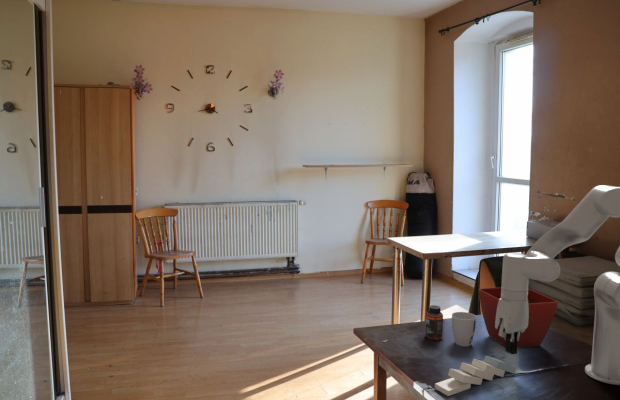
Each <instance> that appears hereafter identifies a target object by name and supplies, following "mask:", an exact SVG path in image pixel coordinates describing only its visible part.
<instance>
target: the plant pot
mask: <svg viewBox="0 0 620 400" xmlns="http://www.w3.org/2000/svg"><path fill="white" fill-rule="evenodd" d="M478 294H479V304H480V308H481V313H482V317H483V320H484V324H485V328H486V331H487V334H488V337H490V338H492V339H493V340H495V341H497V342H498V343H499V344H501V345H503V346H504V347H505V341H506V340H505V339H504V337H501V336H499V330H497V329H496V328H495V320H496V312H497V306H498V302H499V299H500V298H501V287H499V286H498V287H486V288H485V287H484V288H479V289H478ZM558 303H559V302H558V300H555V299H554V298H551V297H549V296H546V295H544V294H542V293H540V292H537V291H535V290H533V289H531V288H528V307H529V320H528V327H527V328H526V329H525V331H524V332H523V333H521V335H520V338H519V341H518V347H517V349H520V348H521V349H523V348H532V347H540V346H541V345H542V343H543V341H544V339H545V338H546V336H547V334H548V331H549V330H550V327H551V325H552V322H553V320H554V317H555V314H556V311H557V308H558Z"/></svg>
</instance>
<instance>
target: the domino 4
mask: <svg viewBox="0 0 620 400" xmlns="http://www.w3.org/2000/svg"><path fill="white" fill-rule="evenodd" d="M483 361H484V360H483ZM483 361H482V360H479V359H476V358H472V362H471V363H470V365H473V366H475V367H477V368H479V369H481V370H483V371H485V372H488V373H492V374H494V375H496V376H498V377H502V378H504V376H505V372H506V371H504V370H501V369H498V368H496V367H494V366H491V365H489V364H487V363H485V362H483Z"/></svg>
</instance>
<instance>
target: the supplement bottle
mask: <svg viewBox="0 0 620 400" xmlns="http://www.w3.org/2000/svg"><path fill="white" fill-rule="evenodd" d="M425 314H426V315H425V337H426V338H427V339H429V340H432V341H439V340H441V339H443V332H444V331H443V330H444V328H443V327H444V325H443V324H444V314H443V313H442V312H441V306H440V305H433V304H432V305H429V307H428V311H427V312H426V313H425Z"/></svg>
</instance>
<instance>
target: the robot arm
mask: <svg viewBox="0 0 620 400" xmlns="http://www.w3.org/2000/svg"><path fill="white" fill-rule="evenodd" d="M609 218H614V219H615V218H617V219H619V218H620V186H614V185H608V184H607V185H605V184H599V185H596V186H594V187H593V188H592V189H591V190H590V191H589V192H588V193H586V195H585V196H584V197H583V198H582V199H581V200H580V201H579V203H577V205H576V206H575V207H574V208H573V209H572V211H571V212H569V214H568V215H567V216H566V217H565V218H564V219H563V220H562V221H561V222H559V223H558V224H556V225H555V226H553V227H551V229H549V230H547V232H545V233H543V234H542V235H541V237H539V238H538V239H537V240H536V241H535V242H534V243H533V245H532V246H531V247H530V248H529V249H528V250H527V252H526V253H525V254H524V253H520V252H508V253H505V254H504V256H503V258H502V273H501V298H500V299H499V302H498V306H497V312H496V320H495V328H496V329H497V330H499V336H501V337H504V339H505V340H506V341H505V346H504V352H505V353H508V354H510V355H517V354H518V348H517V347H518V341H519V338H520V335H521V333H523V332H524V331H525V329H526V328H527V327H528V320H529V307H528V289H529V281H530V280H533V281H537V282H544V283H548V282H553V281H555V280H556V279H558V278H559V276H560V274H561V266H560V264H559V262H558V261H557V260H556V259H555V258H556V256H557V255H558V254H560V253H561V252H562V251H563V250H564V249H565V250H566V248H568V247H571V246H573V245H578V244H581V243H584V242H586V241H588V240H590V239H591V237H592V236H593V235H594V234H595V233H596V232H597V230H599V228H601V226H602V225H603V224H604V223H605V222H606V221H607V220H608V219H609ZM614 259H615V260H614V261H615V263H616V264H617V265H618V266H619V267H620V245H619V247H618V248H617V250H616V252H615V255H614ZM593 296H594V322H593V324H594V325H593V336H592V337H593V338H592V347H591V348H592V350H591V361H590V362H591V363H589V364H587V365H585V367H584V372H585V374H586V375H587V376H589V377H590V378H591V379H594V380H596V381H598V382H602V383H604V384H609V385H617V386H620V272H617V271H605V272H603V273H602V274H600V275H599V276H598V277H597V278H596V280H595V282H594V287H593Z"/></svg>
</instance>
